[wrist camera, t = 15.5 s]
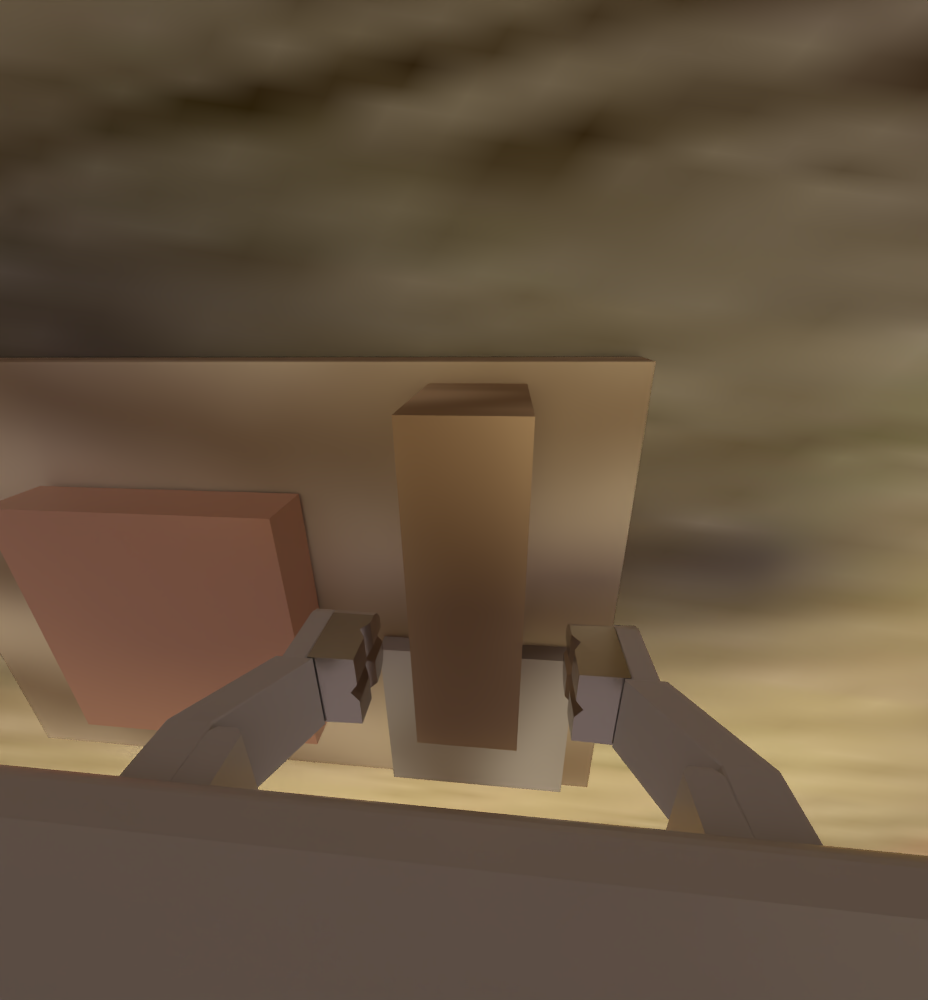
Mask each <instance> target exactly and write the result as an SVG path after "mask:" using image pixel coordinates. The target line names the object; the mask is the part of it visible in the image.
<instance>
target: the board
mask: <svg viewBox="0 0 928 1000" xmlns="http://www.w3.org/2000/svg"><path fill="white" fill-rule="evenodd" d="M655 363H656V362H655V361H652V360H649V359H646V358H643V357H137V358H0V500H3V499H6V498H9V497H11V496H14V495H17V494H19V493H22V492H25V491H28V490H30V489H33V488H36V487H38V486H59V487H92V488H125V489H159V490H192V491H225V492H258V493H291V494H299V498H300V503H301V509H302V515H303V520H304V526H305V532H306V537H307V543H308V548H309V554H310V560H311V565H312V571H313V577H314V582H315V588H316V593H317V599H318V605H319V609H332V610H348V611H361V612H374V613H377V614H378V615H379V617H380V624H381V628H380V630H379V633H378V635H377V636H378V637H379V638H380V639H381V640H382V642H383V639H384V637H385V636H388V637H405V638H409V631H408V618H407V605H406V592H405V580H404V567H403V554H402V542H401V529H400V516H399V504H398V491H397V478H396V466H395V453H394V440H393V427H392V414H393V413H395V412H396V411H397V410H398V409H399V408H400V407H402V406H403V405H404V404H405V403H406V402H407V401H409V400H410V399H411V398H412V397H413V396H414V395H416V394H417V393H418V392H419V391H420V390H421V389H423V388H424V387H425V386H426V385H427V384H428V383H500V384H528V389H529V393H530V397H531V401H532V405H533V410H534V414H535V429H534V447H533V465H532V483H531V501H530V519H529V537H528V555H527V573H526V591H525V609H524V627H523V645H535V646H552V647H567V645H566V639H565V636H566V628H567V624H586V625H606V626H613V624H614V617H615V611H616V605H617V599H618V593H619V586H620V580H621V574H622V568H623V562H624V555H625V549H626V543H627V537H628V530H629V524H630V518H631V512H632V506H633V499H634V493H635V487H636V481H637V475H638V468H639V462H640V456H641V450H642V444H643V437H644V431H645V425H646V419H647V412H648V406H649V400H650V394H651V388H652V381H653V375H654V369H655ZM0 653H1V655H2V657H3V659H4V660H5V662H6V664H7V666H8V667H9V669H10V671H11V673H12V674H13V676H14V678H15V680H16V681H17V683H18V685H19V687H20V688H21V690H22V692H23V694H24V695H25V697H26V699H27V701H28V702H29V704H30V706H31V708H32V709H33V711H34V713H35V715H36V716H37V718H38V720H39V722H40V723H41V725H42V727H43V729H44V730H45V732H46V734H47V736H48V737H49V738H59V739H70V740H81V741H92V742H103V743H114V744H124V745H135V746H145V745H146V744H147V743H148V741H149V740H150V739H151V738H152V737H153V736H154V734H155V733H156V732H157V731H158V730H147V729H136V728H125V727H113V726H102V725H90V724H88V722H87V720H86V718H85V716H84V714H83V712H82V710H81V708H80V706H79V704H78V702H77V700H76V698H75V697H74V695H73V693H72V691H71V689H70V687H69V685H68V683H67V681H66V679H65V677H64V675H63V673H62V671H61V669H60V667H59V665H58V663H57V661H56V659H55V657H54V655H53V653H52V651H51V649H50V647H49V645H48V643H47V641H46V639H45V637H44V636H43V634H42V632H41V630H40V628H39V626H38V624H37V622H36V620H35V618H34V616H33V614H32V612H31V610H30V608H29V606H28V604H27V602H26V600H25V598H24V596H23V594H22V592H21V590H20V588H19V586H18V584H17V582H16V580H15V578H14V576H13V574H12V573H11V571H10V569H9V567H8V565H7V563H6V561H5V559H4V557H3V555H2V553H1V551H0ZM371 696H372V699H371V702H370V705H369V707H368V710H367V713H366V716H365V718H364V721H363V723H343V722H327V724H326V726H325V728H324V731H323V733H322V735H321V737H320V740H319V742H318V744H307V743H304V744H303V745H302V746H301V747H300V748H299V749H298V750H297V751H296V752H295V753H294V754H293V755H292V756H291V757H289V758H288V760H299V761H310V762H320V763H331V764H342V765H353V766H364V767H375V768H386V769H393V762H392V754H391V745H390V736H389V728H388V719H387V710H386V701H385V693H384V684H383V675H382V669H381V674H380V677H379V680H378V683H376V684H375V685H374V686H372V687H371ZM593 748H594V743H590V742H581V741H572V740H571V736H570V729H569V725H568V733H567V741H566V749H565V758H564V766H563V774H562V782H561V785H571V786H582V787H587V785H588V779H589V773H590V767H591V760H592V754H593Z"/></svg>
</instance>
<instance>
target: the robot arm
mask: <svg viewBox="0 0 928 1000" xmlns="http://www.w3.org/2000/svg"><path fill="white" fill-rule="evenodd" d="M380 628H381V624H380V617H379V615H378V614H377V613H374V612H361V611H348V610H332V609H318V608H317V609H316V610H314V611H312V612H311V614H310V615H309V617H308V618H307V620H306V621H305V623H304V624H303V626H302V627H301V629H300V630H299V632H298V633H297V635H296V636H295V638H294V639H293V641H292V642H291V644H290V645H289V647H288V648H287V650H286V651H285V653H284V654H283V656H275V657H273V658H271V659H270V660H268V661H266V662H265V663H263V664H261V665H260V666H258V667H256V668H254V669H253V670H251V671H249V672H248V673H246V674H244V675H242V676H241V677H239V678H237V679H236V680H234V681H232V682H230V683H229V684H227V685H225V686H224V687H222V688H220V689H219V690H217V691H215V692H213V693H212V694H210V695H208V696H207V697H205V698H203V699H201V700H200V701H198V702H196V703H195V704H193V705H191V706H189V707H188V708H186V709H184V710H183V711H181V712H179V713H178V714H176V715H174V716H172V717H171V718H169V719H167V720H166V721H165V723H164V724H163V725H162V726H161V727H160V729H159V730H158V731H157V732H156V733H155V734H154V736H153V737H152V738H151V739H150V740H149V741H148V743H147V744H146V745H145V746H144V747H143V749H142V750H141V751H140V752H139V753H138V754H137V756H136V757H135V758H134V759H133V760H132V761H131V763H130V764H129V765H128V766H127V767H126V769H125V770H124V771H123V772H122V773H121V774H120V776H111V775H100V774H90V773H80V772H70V771H60V770H49V769H39V768H29V767H19V766H9V765H0V1000H928V856H924V855H914V854H903V853H893V852H883V851H873V850H863V849H853V848H843V847H833V846H823V844H822V843H821V841H820V839H819V838H818V836H817V834H816V833H815V831H814V829H813V827H812V826H811V824H810V822H809V821H808V819H807V817H806V816H805V814H804V812H803V810H802V809H801V807H800V805H799V804H798V802H797V800H796V798H795V797H794V795H793V793H792V792H791V790H790V788H789V787H788V785H787V783H786V781H785V780H784V778H783V776H782V775H781V773H780V772H779V771H778V770H777V769H776V768H774V767H773V766H772V765H771V764H769V763H768V762H767V761H766V760H764V759H763V758H762V757H761V756H759V755H758V754H757V753H756V752H754V751H753V750H752V749H751V748H749V747H748V746H747V745H746V744H744V743H743V742H742V741H741V740H739V739H738V738H737V737H736V736H734V735H733V734H732V733H731V732H729V731H728V730H727V729H726V728H724V727H723V726H722V725H721V724H719V723H718V722H717V721H716V720H714V719H713V718H712V717H711V716H709V715H708V714H707V713H706V712H704V711H703V710H702V709H701V708H699V707H698V706H697V705H696V704H694V703H693V702H692V701H691V700H689V699H688V698H687V697H686V696H684V695H683V694H682V693H681V692H679V691H678V690H677V689H676V688H674V687H673V686H672V685H671V684H669V683H668V682H661V681H660V679H659V677H658V675H657V672H656V670H655V667H654V665H653V663H652V660H651V658H650V655H649V653H648V651H647V648H646V646H645V643H644V641H643V639H642V636H641V634H640V631H639V629H638V628H637V627H636V626H621V625H613V626H606V625H586V624H567V628H566V636H565V639H566V645H567V650H566V651H565V652H564V655H563V687H564V695H565V697H566V698H567V699H568V709H567V716H568V723H569V729H570V736H571V740H572V741H581V742H590V743H600V744H609V745H613V746H612V747H613V748H614V750H615V751H616V752H617V754H618V755H619V756H620V757H621V759H622V760H623V761H624V763H625V764H626V765H627V766H628V768H629V769H630V770H631V772H632V773H633V774H634V775H635V777H636V778H637V779H638V781H639V782H640V783H641V785H642V786H643V787H644V788H645V790H646V791H647V792H648V794H649V795H650V796H651V797H652V799H653V800H654V801H655V803H656V804H657V805H658V806H659V808H660V809H661V810H662V812H663V813H664V814H665V815H666V817H667V818H668V819H669V822H668V825H667V828H666V830H661V829H650V828H640V827H630V826H620V825H609V824H599V823H589V822H579V821H568V820H558V819H548V818H538V817H527V816H517V815H507V814H497V813H487V812H476V811H466V810H456V809H446V808H436V807H426V806H416V805H406V804H395V803H385V802H375V801H365V800H355V799H345V798H335V797H325V796H314V795H304V794H294V793H284V792H274V791H263V790H258V787H259V786H260V785H261V784H262V783H263V782H264V781H265V780H266V779H267V778H268V777H269V776H270V775H271V774H272V773H274V772H275V771H276V770H277V769H278V768H279V767H280V766H281V765H282V764H283V763H284V762H285V761H286V760H287V759H288V758H289V757H291V756H292V755H293V754H294V753H295V752H296V751H297V750H298V749H299V748H300V747H301V746H302V745H303V744H304V743H305V742H306V741H307V740H309V739H310V738H311V737H312V736H313V735H314V734H315V733H316V732H317V731H318V730H319V729H320V728H321V727H322V726H323V725H324V724H325V722H343V723H363V721H364V718H365V716H366V713H367V710H368V707H369V705H370V702H371V699H372V696H371V687H372V686H374V685H375V684H376V683H378V680H379V677H380V674H381V669H382V663H383V642H382V640H381V639H380V638H379V637H378V636H377V635H378V633H379V630H380Z"/></svg>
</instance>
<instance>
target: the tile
mask: <svg viewBox="0 0 928 1000" xmlns="http://www.w3.org/2000/svg"><path fill="white" fill-rule="evenodd" d="M0 551H1V553H2V555H3V557H4V559H5V561H6V563H7V565H8V567H9V569H10V571H11V573H12V574H13V576H14V578H15V580H16V582H17V584H18V586H19V588H20V590H21V592H22V594H23V596H24V598H25V600H26V602H27V604H28V606H29V608H30V610H31V612H32V614H33V616H34V618H35V620H36V622H37V624H38V626H39V628H40V630H41V632H42V634H43V636H44V637H45V639H46V641H47V643H48V645H49V647H50V649H51V651H52V653H53V655H54V657H55V659H56V661H57V663H58V665H59V667H60V669H61V671H62V673H63V675H64V677H65V679H66V681H67V683H68V685H69V687H70V689H71V691H72V693H73V695H74V697H75V698H76V700H77V702H78V704H79V706H80V708H81V710H82V712H83V714H84V716H85V718H86V720H87V722H88V724H90V725H102V726H113V727H125V728H136V729H147V730H159V729H160V727H161V726H162V725H163V724H164V723H165V721H166V720H167V719H169V718H171V717H172V716H174V715H176V714H178V713H179V712H181V711H183V710H184V709H186V708H188V707H189V706H191V705H193V704H195V703H196V702H198V701H200V700H201V699H203V698H205V697H207V696H208V695H210V694H212V693H213V692H215V691H217V690H219V689H220V688H222V687H224V686H225V685H227V684H229V683H230V682H232V681H234V680H236V679H237V678H239V677H241V676H242V675H244V674H246V673H248V672H249V671H251V670H253V669H254V668H256V667H258V666H260V665H261V664H263V663H265V662H266V661H268V660H270V659H271V658H273V657H275V656H283V654H284V653H285V651H286V650H287V648H288V647H289V645H290V644H291V642H292V641H293V639H294V638H295V636H296V635H297V633H298V632H299V630H300V629H301V627H302V626H303V624H304V623H305V621H306V620H307V618H308V617H309V615H310V614H311V612H312V611H314V610H316V609H317V608H318V609H319V605H318V599H317V593H316V588H315V582H314V577H313V571H312V565H311V560H310V554H309V548H308V543H307V537H306V532H305V526H304V520H303V515H302V509H301V503H300V498H299V494H291V493H258V492H225V491H192V490H159V489H125V488H92V487H59V486H38V487H36V488H33V489H30V490H28V491H25V492H22V493H19V494H17V495H14V496H11V497H9V498H6V499H3V500H0ZM326 724H327V722H325V724H324V725H323V726H322V727H321V728H320V729H319V730H318V731H317V732H316V733H315V734H314V735H313V736H312V737H311V738H310V739H309V740H307V741H306V742H305V743H307V744H318V742H319V740H320V737H321V735H322V733H323V731H324V728H325V726H326Z"/></svg>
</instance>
